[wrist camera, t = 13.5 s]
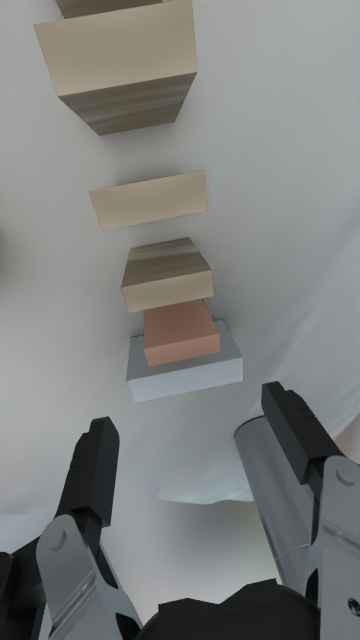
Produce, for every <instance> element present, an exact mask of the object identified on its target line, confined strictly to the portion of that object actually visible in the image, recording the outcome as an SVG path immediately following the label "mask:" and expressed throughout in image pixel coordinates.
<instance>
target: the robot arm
mask: <svg viewBox="0 0 360 640" xmlns="http://www.w3.org/2000/svg"><path fill="white" fill-rule="evenodd" d="M261 404H262V409H263V412H264V414H265V417H260V418H257V419H254V420H252V421H249V422H247V423H246V424H244V425H243V426H242V427H240V428H239V429H238V431H237V432H236V434H235V436H234V440H235V443H236V446H237V449H238V452H239V455H240V458H241V461H242V464H243V467H244V470H245V473H246V476H247V479H248V482H249V486H250V489H251V492H252V495H253V498H254V501H255V503H256V506H257V509H258V512H259V516H260V519H261V522H262V524H263V528H264V530H265V534H266V537H267V540H268V542H269V546H270V548H271V552H272V555H273V558H274V561H275V563H276V566H277V569H278V572H279V575H280V578H281V581H282V584H283V585H279V584H277V581H276V579H275V578H274V579H269V580H265V581H261V582H256V583H252V584H247V585H246V586H244V587H243V588H241V589H240V590H239V591H238V592H236V593H235V594H233V595H232V596H230V597H229V598H228V599H226V600H225V601H224V602H222V603H220V604H214V603H209V602H204V601H200V600H195V599H190V598H185V599H180V600H176V601H172V602H167V603H163V604H158V610H159V611H158V612H157V613H156V614H155V615H154V616H153V617H152V618H151V619H150V620H149V621H148V622H147V623H146V624H145V625H144V627H143V624H142V622H141V620H140V618H139V616H138V614H137V612H136V610H135V607H134V606H133V604H132V602H131V600H130V599H129V597H128V595H127V594H126V593H125V591H124V590H123V588H122V586H121V584H120V582H119V580H118V578H117V576H116V574H115V572H114V569H113V567H112V565H111V563H110V561H109V558H108V556H107V554H106V552H105V550H104V547H103V545H102V543H101V541H100V535H101V529H102V528H104V527H108V526H110V522H111V514H112V506H113V497H114V487H115V479H116V471H117V462H118V453H119V444H120V440H119V434H118V431H117V430H116V428H115V426H114V424H113V423H112V421H111V419H110V417H108V416H107V417H102V418H98V419H93V420H92V422H91V425H90V429H89V432H87V433H83V434H82V436H81V437H80V439H79V441H78V442H77V444H76V446H75V450H74V453H73V459H72V460H71V464H70V470H69V471H68V474H67V478H66V482H65V485H64V489H63V492H62V496H61V499H60V503H59V506H58V510H57V513H56V515H55V517H54V519H53V520H52V521H51V522H50V523H49V524H48V525H47V527H46V528H45V529H44V531H43V532H42V534H41V535H40V536H39V537H38V538H36V539H35V540H33V541H32V542H30V543H28V544H27V545H25V546H23V547H22V548H20V549H19V550H17V551H15V552H14V553H12V554H8V553H6V552H0V640H38V638H39V633H40V629H41V624H42V619H43V614H44V610H45V604H46V601H47V603H48V608H49V612H50V615H51V620H52V630H51V632H50V634H49V639H48V640H360V465H359V464H357V463H355V462H354V461H352V460H350V459H349V458H347V457H346V456H345V455H344V454H343V453H342V452H341V451H340V450H339V448H338V447H337V446H336V444H335V443H334V442H333V440H332V439H331V437H330V436H329V435H328V433H327V432H326V430H325V429H324V428H323V426H322V425H321V423H320V422H319V421H318V419H317V418H316V417H315V415H314V414H313V412H312V411H311V410H310V409H309V407H308V405H307V404H306V403H305V401H304V400H303V398H302V397H301V396H299V395H298V394H297V393H295V392H294V391H293V390H287V391H285V390H284V388H283V387H282V385H281V384H280V383H279V382H278V381H275V382H270V383H265V384H263V385H262V397H261Z"/></svg>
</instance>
